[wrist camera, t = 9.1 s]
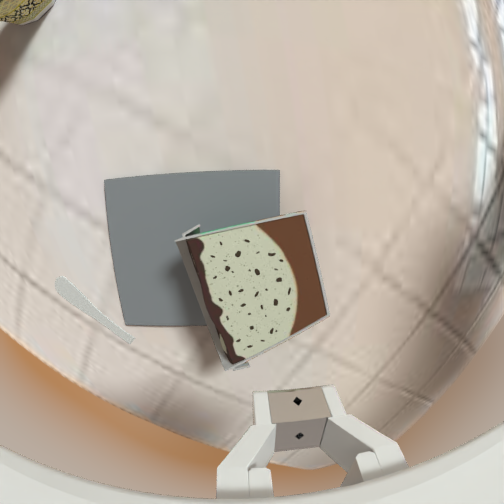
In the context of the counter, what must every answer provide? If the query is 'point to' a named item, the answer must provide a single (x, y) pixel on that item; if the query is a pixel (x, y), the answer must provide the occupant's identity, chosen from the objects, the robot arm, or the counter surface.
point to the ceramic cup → (23, 10)
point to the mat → (175, 233)
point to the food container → (255, 284)
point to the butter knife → (88, 307)
